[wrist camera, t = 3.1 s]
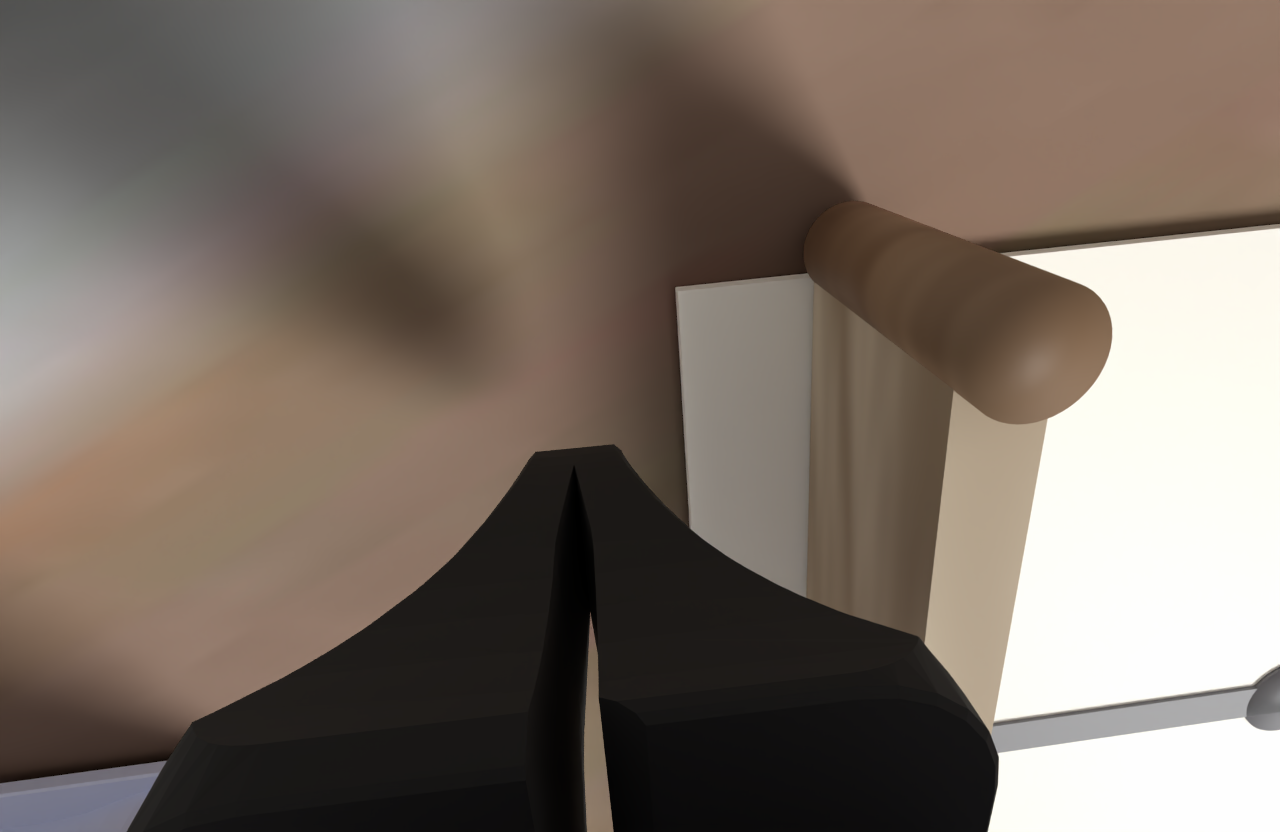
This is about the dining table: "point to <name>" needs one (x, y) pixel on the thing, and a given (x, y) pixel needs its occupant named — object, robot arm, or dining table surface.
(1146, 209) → the dining table surface
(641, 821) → the robot arm
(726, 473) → the card
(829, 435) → the hinged fence panel
